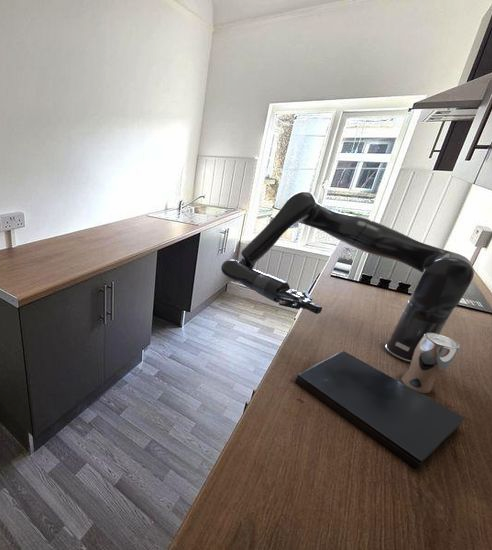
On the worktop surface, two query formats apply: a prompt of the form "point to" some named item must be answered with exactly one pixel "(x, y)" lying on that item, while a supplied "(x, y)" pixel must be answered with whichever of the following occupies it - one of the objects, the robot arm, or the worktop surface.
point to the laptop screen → (383, 404)
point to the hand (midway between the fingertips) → (320, 310)
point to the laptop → (366, 429)
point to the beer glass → (429, 361)
